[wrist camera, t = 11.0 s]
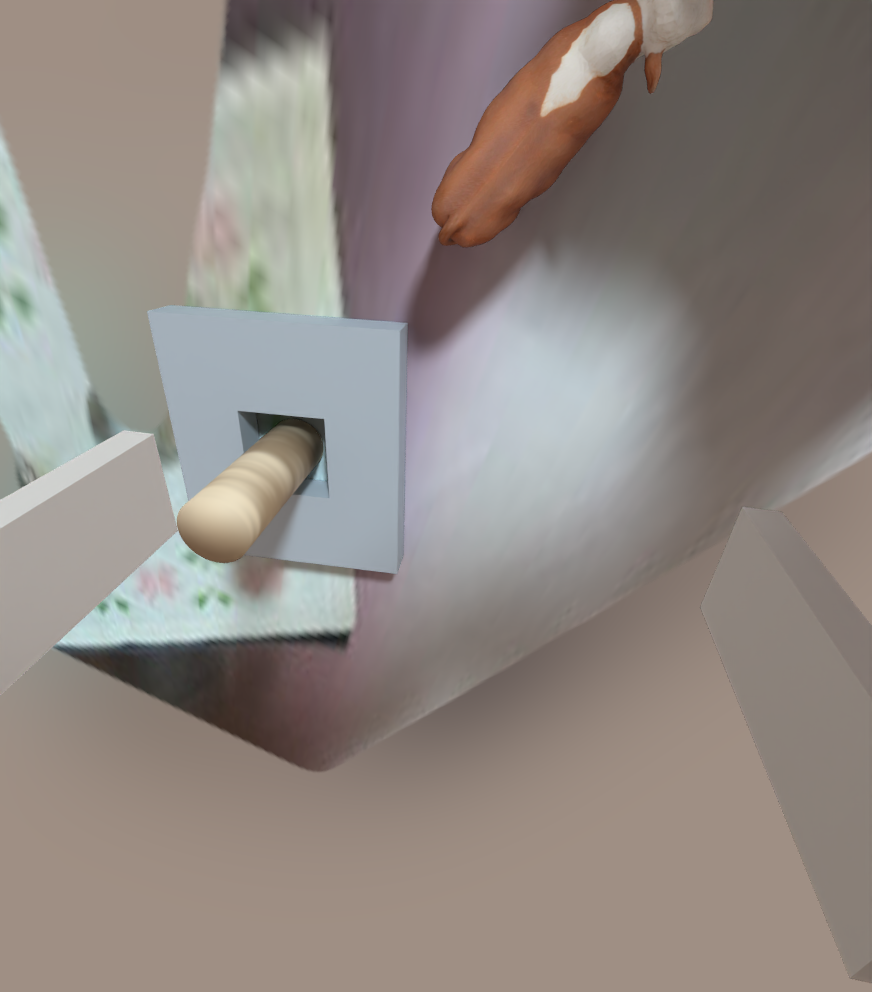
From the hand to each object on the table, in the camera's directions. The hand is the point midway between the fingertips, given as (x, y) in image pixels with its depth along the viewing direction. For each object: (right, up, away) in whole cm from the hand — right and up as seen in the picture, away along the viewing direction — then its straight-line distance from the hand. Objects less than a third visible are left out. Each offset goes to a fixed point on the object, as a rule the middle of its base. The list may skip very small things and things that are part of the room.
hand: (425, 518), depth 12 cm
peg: (-10, +4, +26) cm, 28 cm away
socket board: (-10, +4, +26) cm, 28 cm away
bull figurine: (+6, +20, +15) cm, 26 cm away
